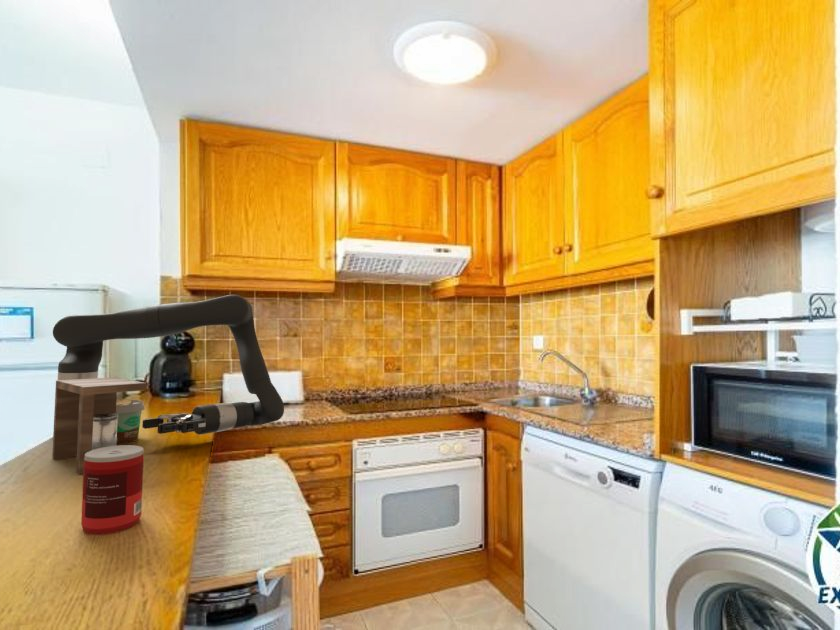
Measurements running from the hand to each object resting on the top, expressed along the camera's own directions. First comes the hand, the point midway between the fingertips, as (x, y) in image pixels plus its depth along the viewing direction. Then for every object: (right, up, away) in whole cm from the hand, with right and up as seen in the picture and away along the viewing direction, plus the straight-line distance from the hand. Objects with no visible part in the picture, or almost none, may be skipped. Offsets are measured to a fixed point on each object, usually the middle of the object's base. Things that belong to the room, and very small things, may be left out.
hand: (150, 426), depth 114 cm
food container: (-12, -6, +10) cm, 17 cm away
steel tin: (-6, -6, -8) cm, 12 cm away
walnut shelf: (-7, -5, -9) cm, 12 cm away
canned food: (+19, -5, -43) cm, 47 cm away
